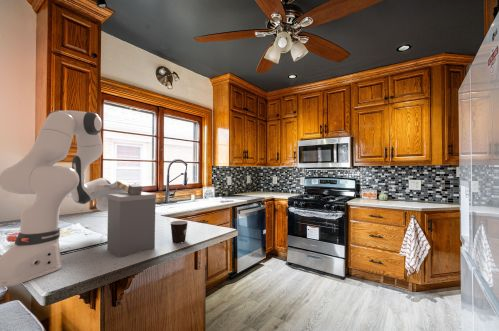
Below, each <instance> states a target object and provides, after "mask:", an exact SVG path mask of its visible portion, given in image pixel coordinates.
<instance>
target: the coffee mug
mask: <svg viewBox="0 0 499 331" xmlns="http://www.w3.org/2000/svg"><path fill="white" fill-rule="evenodd" d="M187 230H188V221H187V220H174V221H173V220H172V221H171V222H170V232H171V240H172V243H173V244H182V243H181V242H183V243H185V242H186V239H187V238H186V237H187ZM184 241H185V242H184Z"/></svg>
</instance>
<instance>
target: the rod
mask: <svg viewBox="0 0 499 331" xmlns="http://www.w3.org/2000/svg"><path fill="white" fill-rule="evenodd" d="M115 182H119V186H118V187H120V188H122V189H124V190H125V191H127V192H128V194H130V195H141V192H143V191H142V188H143V186H142V185H141V184H137V183H136V184H135V185H130V184H131V183H128V182H127V183H126V182H125V181H124V180H122V179H118V180H117V179H116V181H115Z"/></svg>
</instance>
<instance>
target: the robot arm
mask: <svg viewBox="0 0 499 331" xmlns="http://www.w3.org/2000/svg"><path fill="white" fill-rule="evenodd" d="M102 128H103V121H102V118H101V116H100V115H99V114H97V113H95V112H91V111H81V110H73V109H72V110H71V109H70V110H60V109H58V110H53V111H50V112H49V113H48V115H47V116H46V119H45V120H44V122H43V123H42V126H41V127H40V129H39V132H38V134H37V137H36V139H35V141H34V144H33V146H32V147H31V149H30V150H29V152H28V153H26V155H25V156H24V157H23V158H21V159H20V160H19V161H18V162H16V163H15V164H13V165H11V166H8V167H7V168H5V169H3V170H2V171H1V173H0V187H1V189H2V190H3V191H5V192H8V193H11V194H17V195H36V197H35V201H34V202H33V203H32V204H30V205H28V206H26V207H25V208H24V209H23V210H22V211H21V212H20V231H19V233H18V235H17V236H16V235H10V236H8V237H7V238H6V241H7V242H9V243H14V244H13V245H12V246H11V247H9V248H8V249H7V250H6V251H5V252H4V253H3V254H2V255H0V288H7V287H13V286H17V285H20V284H22V283H25V282H29V281H31V280H34V279H36V278H40V277H42V276H45V275H48V274H51V273H53V272H56V271H59V270H61V269H62V267H63V266H62V265H63V264H64V260H63V258H62V255H61V250H60V240H59V239H60V236H61V230H60V227H59V220H60V210H61V207H62V204H63V203H64V200H65V199H66V198H67V197H68V196H69V195H70V194H71V198H72V200H73V201H74V202H75V203H78V204H81V205H86V204H87V203H89V202H91V201H92V200H95V199H96V203H95V207H96V209H97V210H98V211H100V212H101V211H102V212H108V198H107V197H108V194H115V193H128V192H127V191H125V190H124V189H122V188H120V187H118V186H119V182H116V181H114V182H113V183H111V182H110V181H109V180H108V179H107V178H104V177H99V178H96V179H94V180H91V181H89V182H86V183H85V172H86V169H87V168H88V167H89V166H90V165H91V164H92V163H95V161H97V160H98V159H100V157H101V156H102V154H103V153H104V146H103V140H102V136H101V130H103V129H102ZM74 135H75V140H76V141H75V142H76V148H77V150H76V153H75V156H74V157H72V161H71V168H70V167H67V166H61V165H55V164H56V163H59V162H61V161H63V160H64V159H66V158H67V156H68V155H69V151H70V148H71V145H72V143H73V139H74ZM124 182H126V183H128V181H126V180H125V181H124ZM129 184H130V185H135V184H137V183H129Z"/></svg>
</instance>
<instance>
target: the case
mask: <svg viewBox="0 0 499 331" xmlns="http://www.w3.org/2000/svg"><path fill="white" fill-rule="evenodd" d="M107 198H108V210H107V234H106V235H107V237H106V238H107V239H106V240H107V241H106V243H107V244H106V245H107V247H106V248H107V250H108V252H110V253H112V254H113V255H115V256H117V258H122V257H126V256H129V255H135V254H138V253H141V252H145V251H151V250H154V249H155V245H156V199H157V193H151V192H147V191H141V195H130V194H128V193H115V194H108V197H107Z"/></svg>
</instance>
